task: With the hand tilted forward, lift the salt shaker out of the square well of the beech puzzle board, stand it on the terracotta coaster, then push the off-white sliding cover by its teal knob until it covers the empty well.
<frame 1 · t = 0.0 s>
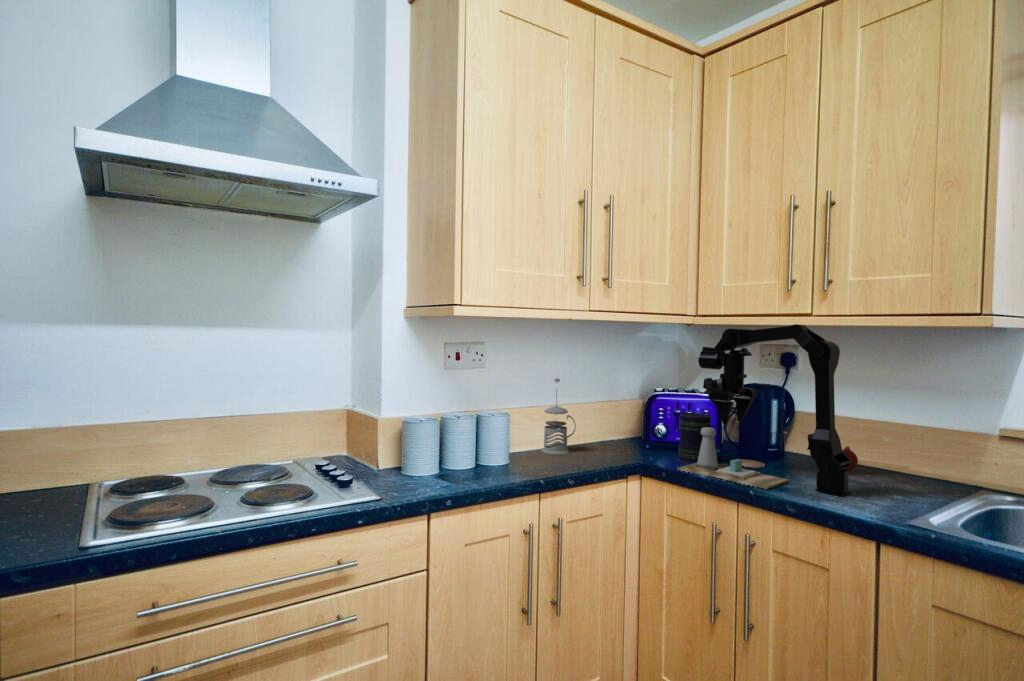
hand: (732, 422, 173), 15 cm above the worktop, tool pointing down, fingers open, 9 cm apart
onion: (846, 473, 175), on the worktop
french press: (557, 451, 198), on the worktop
board: (732, 476, 167), on the worktop
pad: (747, 464, 184), on the worktop
cover: (736, 467, 166), point 3 cm above the worktop, slide at 0.0 cm
salt shaker: (707, 471, 173), resting in board
storage jar: (694, 461, 187), on the worktop
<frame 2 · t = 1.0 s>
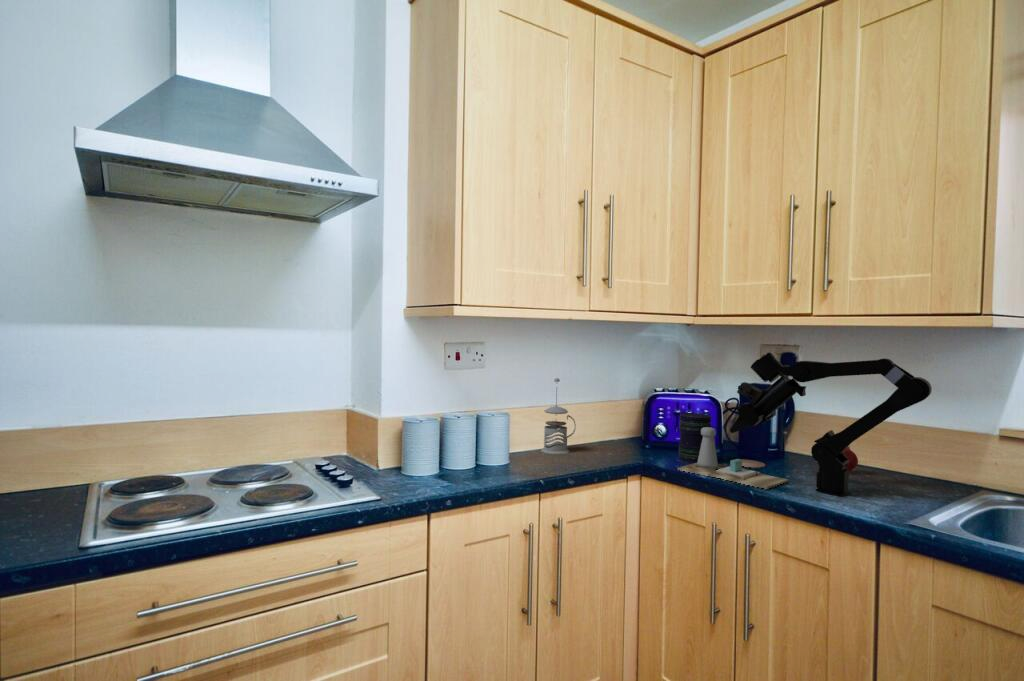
hand: (735, 429, 168), 13 cm above the worktop, tool tilted 45°, fingers open, 9 cm apart
nothing on the worktop moved.
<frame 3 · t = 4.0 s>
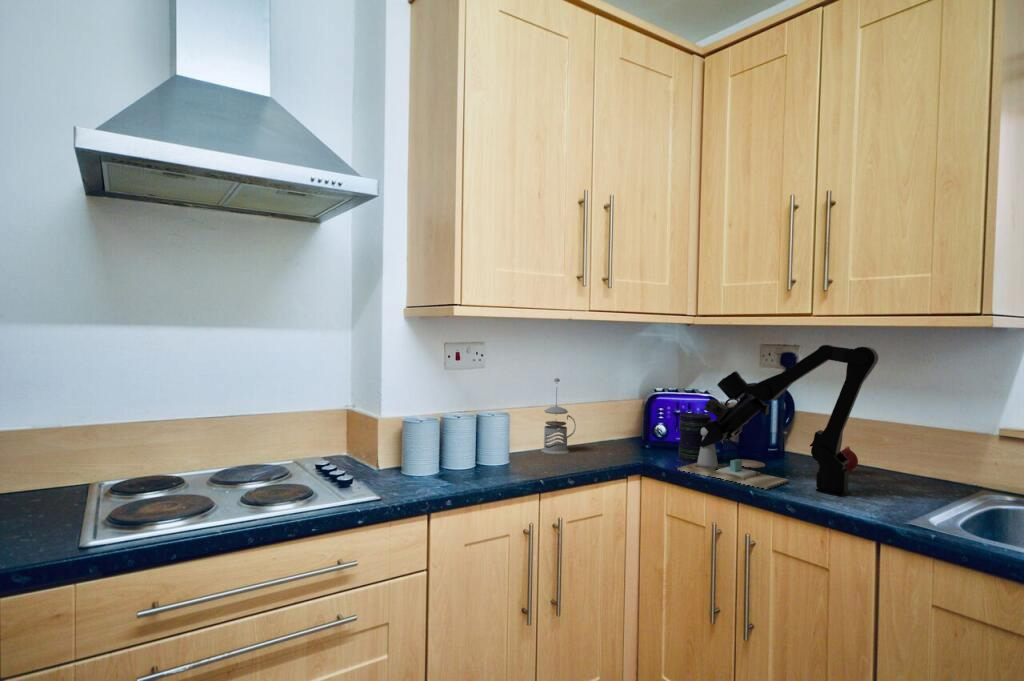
hand: (703, 445, 174), 8 cm above the worktop, tool tilted 45°, fingers closed on salt shaker, 4 cm apart
salt shaker: (707, 471, 173), resting in board, touching gripper
everything else where it was.
when the fingers open (9 cm above the worktop, at t = 7.2 s): salt shaker stays where it is, resting on pad.
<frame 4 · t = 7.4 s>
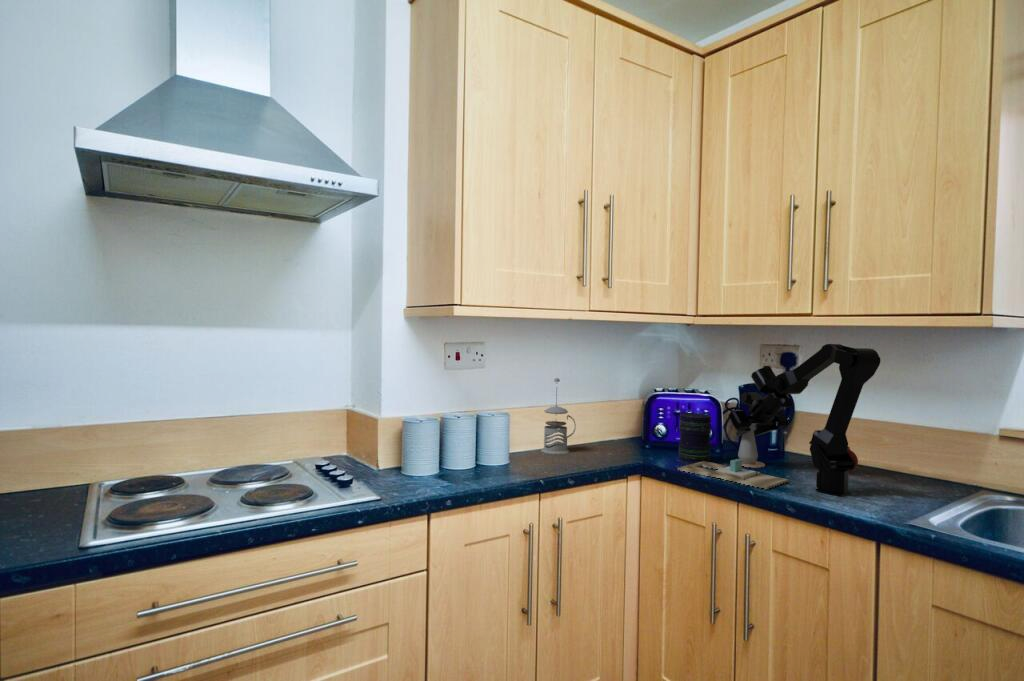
hand: (745, 435, 185), 9 cm above the worktop, tool tilted 45°, fingers open, 6 cm apart
salt shaker: (747, 463, 184), resting on pad
everything else where it was.
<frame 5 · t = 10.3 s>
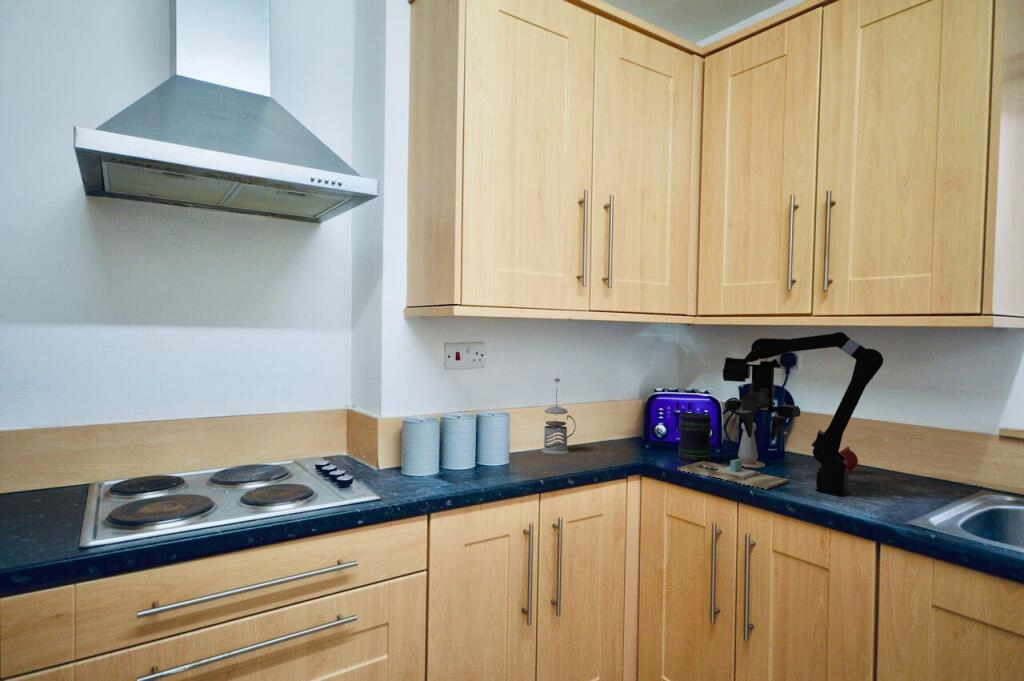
hand: (760, 439, 161), 12 cm above the worktop, tool pointing down, fingers open, 6 cm apart
nothing on the worktop moved.
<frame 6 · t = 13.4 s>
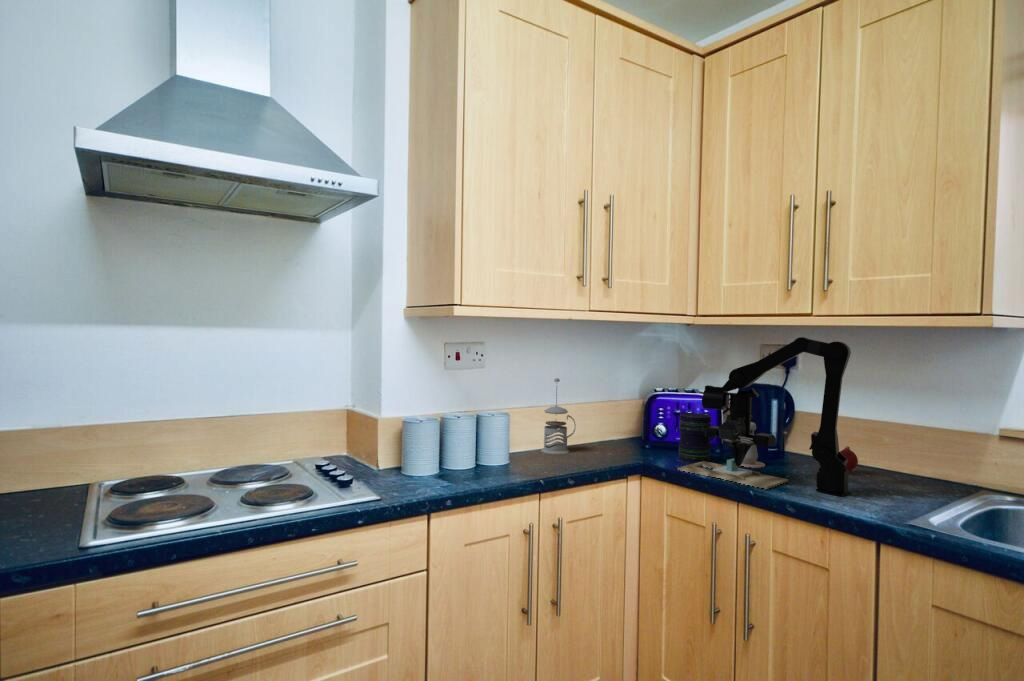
hand: (738, 465, 166), 3 cm above the worktop, tool pointing down, fingers closed
cover: (732, 466, 167), point 3 cm above the worktop, slide at 1.1 cm, touching gripper
everything else where it was.
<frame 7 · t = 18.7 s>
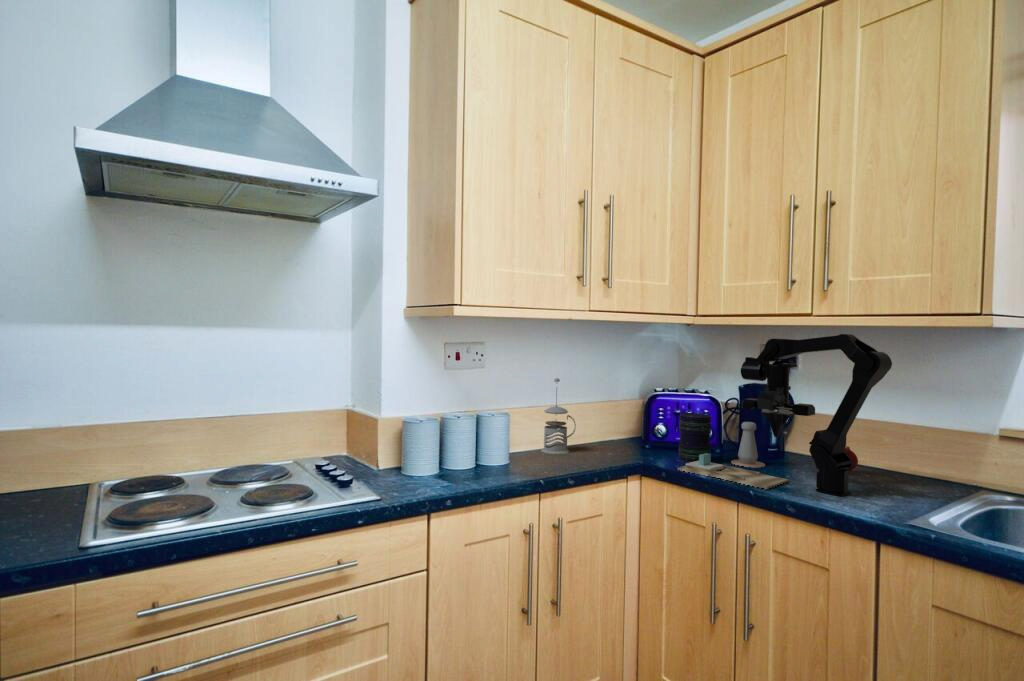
hand: (776, 436, 165), 12 cm above the worktop, tool pointing down, fingers closed
cover: (704, 461, 174), point 3 cm above the worktop, slide at 9.9 cm
everything else where it was.
at the end: salt shaker 0.3 cm from the pad (horizontally); salt shaker tilted 0°; cover slide at 9.9 cm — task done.
